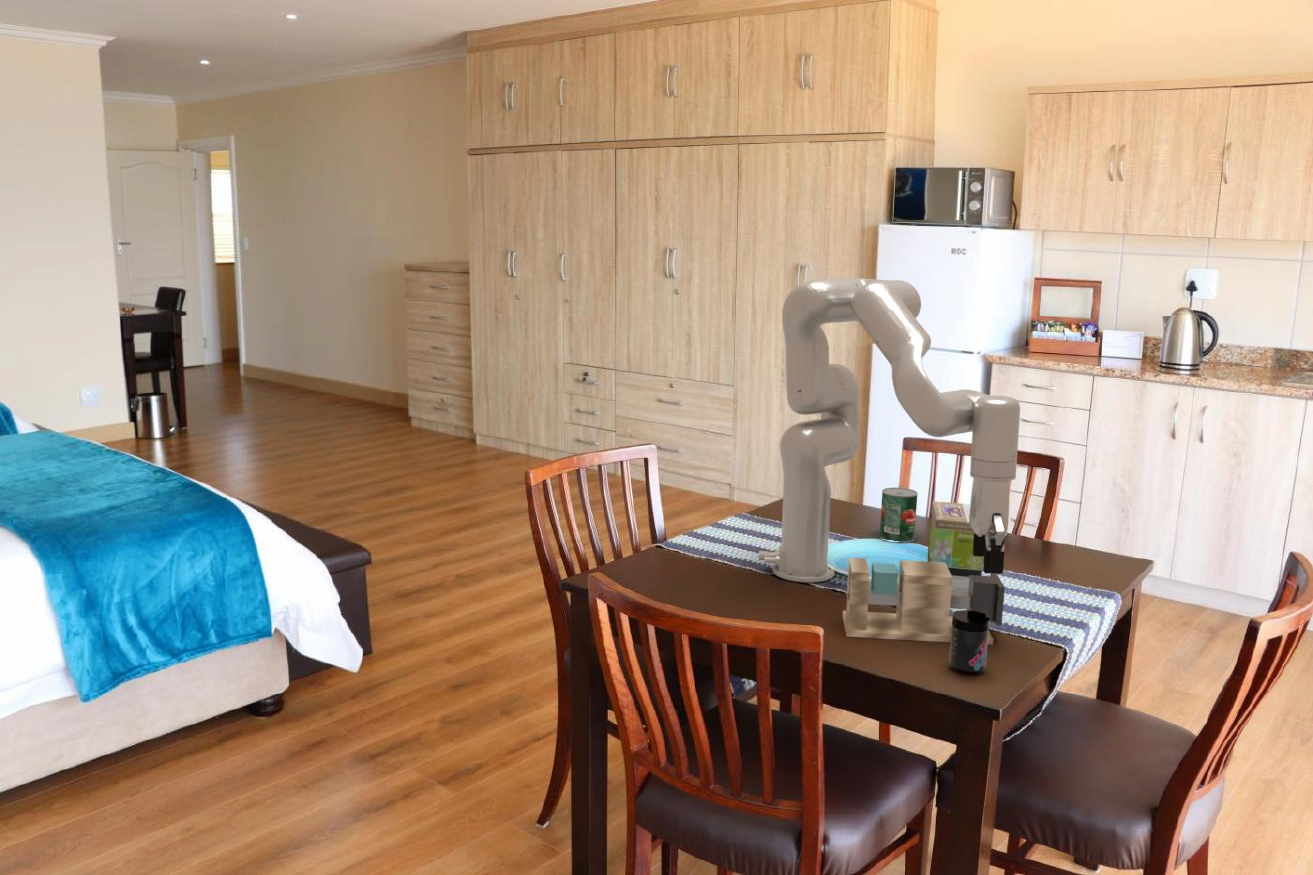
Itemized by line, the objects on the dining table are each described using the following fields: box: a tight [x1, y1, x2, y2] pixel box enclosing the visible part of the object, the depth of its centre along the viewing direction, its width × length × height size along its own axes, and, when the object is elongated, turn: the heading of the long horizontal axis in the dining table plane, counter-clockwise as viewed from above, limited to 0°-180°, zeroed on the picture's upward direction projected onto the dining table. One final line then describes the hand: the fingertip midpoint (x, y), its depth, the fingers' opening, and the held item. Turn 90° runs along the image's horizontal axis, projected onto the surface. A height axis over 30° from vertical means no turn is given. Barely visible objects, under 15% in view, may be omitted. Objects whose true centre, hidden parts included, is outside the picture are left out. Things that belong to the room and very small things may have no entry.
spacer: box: [870, 562, 899, 595], centre depth 190 cm, size 4×5×4 cm
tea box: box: [926, 501, 984, 592], centre depth 216 cm, size 15×10×15 cm, turn 168°
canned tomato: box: [878, 486, 918, 544], centre depth 245 cm, size 8×8×11 cm
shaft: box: [868, 573, 1006, 626], centre depth 190 cm, size 26×7×7 cm, turn 84°
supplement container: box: [948, 609, 991, 676], centre depth 174 cm, size 6×6×9 cm
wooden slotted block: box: [842, 557, 994, 646], centre depth 190 cm, size 25×10×12 cm, turn 84°
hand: (987, 564), depth 187 cm, fingers open, 9 cm apart
